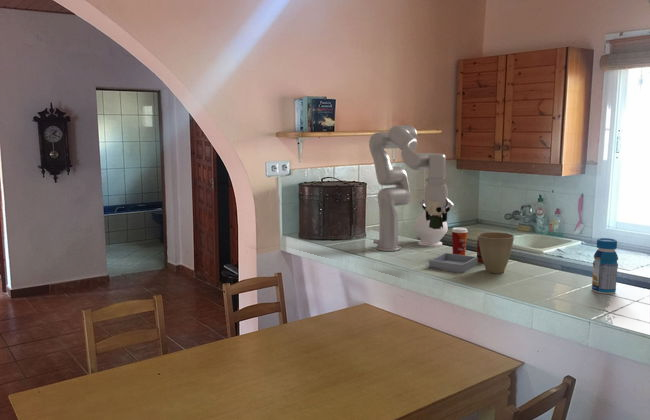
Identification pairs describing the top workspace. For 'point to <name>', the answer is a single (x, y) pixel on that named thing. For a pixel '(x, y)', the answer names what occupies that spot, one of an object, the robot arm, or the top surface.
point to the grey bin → (453, 262)
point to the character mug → (435, 215)
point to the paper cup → (459, 240)
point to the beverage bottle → (605, 266)
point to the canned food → (479, 252)
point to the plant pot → (495, 250)
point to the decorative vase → (429, 231)
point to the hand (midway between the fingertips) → (436, 220)
